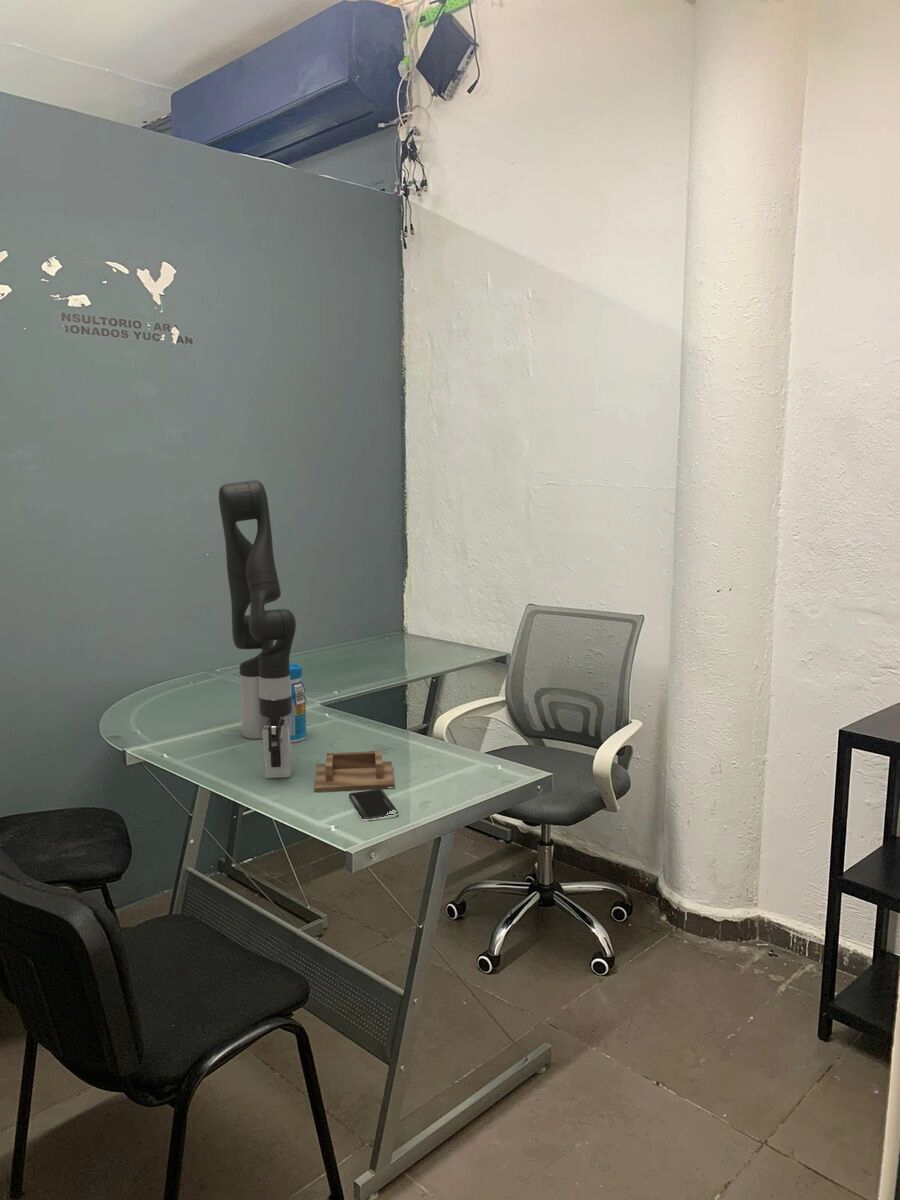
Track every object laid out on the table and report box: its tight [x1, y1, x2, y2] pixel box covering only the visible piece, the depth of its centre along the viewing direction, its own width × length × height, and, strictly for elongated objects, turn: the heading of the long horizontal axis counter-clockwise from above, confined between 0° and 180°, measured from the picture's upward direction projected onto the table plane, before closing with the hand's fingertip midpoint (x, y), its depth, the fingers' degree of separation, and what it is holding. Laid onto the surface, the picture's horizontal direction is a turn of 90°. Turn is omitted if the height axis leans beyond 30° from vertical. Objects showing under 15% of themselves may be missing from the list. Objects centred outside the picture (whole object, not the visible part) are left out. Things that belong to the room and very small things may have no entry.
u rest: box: [313, 750, 395, 793], centre depth 203 cm, size 16×18×4 cm
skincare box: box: [262, 724, 293, 779], centre depth 205 cm, size 6×4×12 cm
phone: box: [348, 789, 399, 819], centre depth 186 cm, size 8×1×15 cm
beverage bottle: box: [284, 663, 307, 743], centre depth 233 cm, size 8×8×20 cm
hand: (277, 760), depth 205 cm, fingers open, 8 cm apart
